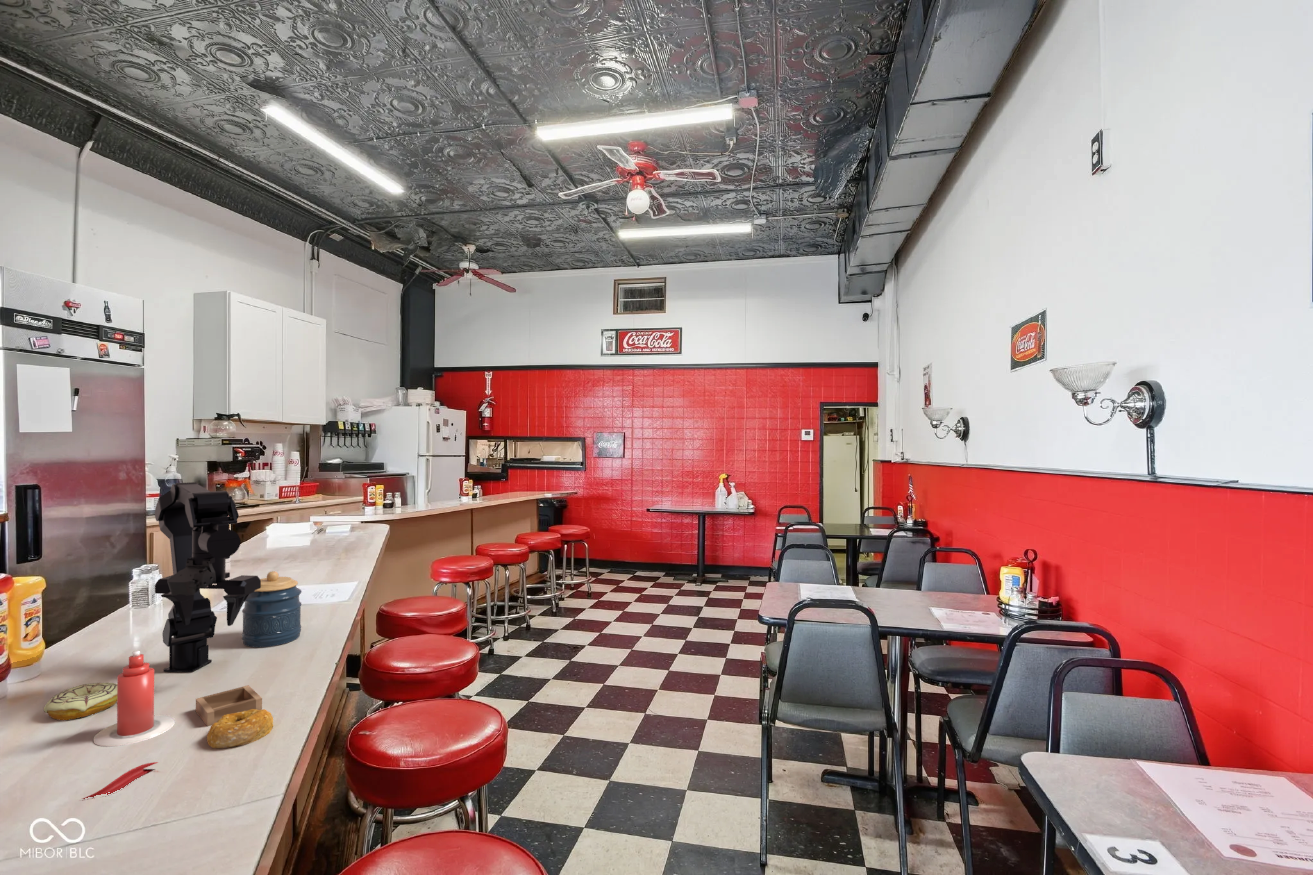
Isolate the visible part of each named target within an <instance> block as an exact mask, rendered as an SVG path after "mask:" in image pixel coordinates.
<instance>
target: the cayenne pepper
mask: <svg viewBox="0 0 1313 875" xmlns="http://www.w3.org/2000/svg"><path fill="white" fill-rule="evenodd" d="M158 763H159V762H157V761H156V762H155V761H154V762H148V763H144V764H141V765H138V766H136V767H134V768H132V769H129V770H128V771H126V772H124V773H123V774H121V775H120V776H119V777H116V779H114V780H112V781H111V782H110V783H109V784H107V785H106V786H104V787H103V788H101V789H99V790H97V791H96V792H94V793H92V794H90V795H88V796H86V797H83V798H82V799H85V798H88V797H94V796H96V795H101V794H106V793H107V795H108V794H111V793H113V792H115V791H117V790H120V789H121V788H123V789H125V788H126V787H127V786H129V785H130V784H131V782H132V781H133V782H135V781H136V780H138V779H140V778H141V776H142V777H143V776H145V775H147V774H149V773H151V772H154V771H155V770H156V769H155V768H154V769H153V768H149V767H150V766H153V765H155V764H158ZM137 778H138V779H137ZM135 779H136V780H135ZM134 780H135V781H134ZM133 782H132V783H133ZM129 783H130V784H129ZM128 784H129V785H128ZM126 785H127V786H126ZM125 786H126V787H125ZM124 787H125V788H124ZM121 790H122V789H121ZM121 790H120V791H121ZM108 792H110V793H108ZM113 794H114V793H113ZM111 795H112V794H111ZM108 796H109V795H108Z"/></svg>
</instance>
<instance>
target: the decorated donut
mask: <svg viewBox="0 0 1313 875" xmlns="http://www.w3.org/2000/svg"><path fill="white" fill-rule="evenodd" d="M115 704H117V683H115V682H93V683H84V684H80V685H77V686H73V687H69V688H67V689H64V690H63V691H61V692H59V693H57V694H55V695H54V696H52V697H51V699H49V700H48V701H47V702H46V704H45V705H44V707H43V711H44V713H45V714H48V716H49V717H51V719H53V720H57V721H64V720H67V721H70V720H69V719H71V720H77V719H81V718H85V717H88V716H93V715H96V714H98V713H99V712H104V711H105V710H107V709H108V708H111V707H112V706H114V705H115ZM95 713H96V714H95ZM92 714H93V715H92ZM80 717H81V718H80ZM76 718H77V719H76Z"/></svg>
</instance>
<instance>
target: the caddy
mask: <svg viewBox="0 0 1313 875" xmlns="http://www.w3.org/2000/svg"><path fill="white" fill-rule="evenodd" d="M251 709H256V710H262V709H263V697H262V696H260V695H259V694H258V693H257V692H256V691H255V690H254V689H253V688H252V687H251V686H250V685H244V686H240V687H236V688H232V689H227V690H225V691H221V692H217V693H213V694H209V695H205V696H201V697H196V698H195V713H196V714H197V716H199V718H200V719H201V720H202V721H203V723H204V724H205V725H206V727H211V726H212V725H213V724H214V723H217V721H218V720H220V719H221V718H222V716H224V715H227V714H232V713H238V712H243V711H248V710H251Z"/></svg>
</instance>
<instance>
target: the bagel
mask: <svg viewBox="0 0 1313 875" xmlns="http://www.w3.org/2000/svg"><path fill="white" fill-rule="evenodd" d="M274 726H275V725H274V717H273V715H272V713H271V712H270V711H268V710H267V709H263V708H262V710H256V709H251V710H248V711H243V712H238V713H232V714H227V715H224V716H222V718H221V719H220V720H218V721H217V723H214V724H213V725H211V726H210V728H209V730H208V732H207V735H206V741H207V744H208V745H209V747H210V748H212V749H227V748H234V747H241V746H246V745H249V744H252V743H254V742H257V741H259V740H261V739H262V738H264V737H266V736H268V735H269V734H271V732H272V730H273V729H274Z"/></svg>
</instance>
